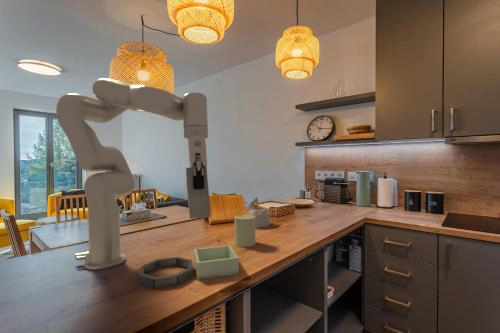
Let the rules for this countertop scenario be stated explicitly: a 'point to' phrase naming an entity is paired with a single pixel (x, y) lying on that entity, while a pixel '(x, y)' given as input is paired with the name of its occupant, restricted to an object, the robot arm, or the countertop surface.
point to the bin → (215, 262)
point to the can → (244, 230)
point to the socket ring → (165, 280)
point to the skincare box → (197, 196)
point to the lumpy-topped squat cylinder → (260, 217)
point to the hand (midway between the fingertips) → (197, 187)
